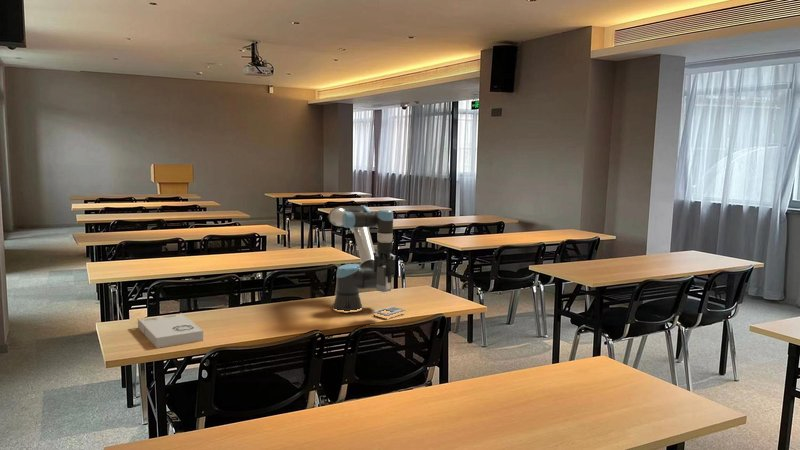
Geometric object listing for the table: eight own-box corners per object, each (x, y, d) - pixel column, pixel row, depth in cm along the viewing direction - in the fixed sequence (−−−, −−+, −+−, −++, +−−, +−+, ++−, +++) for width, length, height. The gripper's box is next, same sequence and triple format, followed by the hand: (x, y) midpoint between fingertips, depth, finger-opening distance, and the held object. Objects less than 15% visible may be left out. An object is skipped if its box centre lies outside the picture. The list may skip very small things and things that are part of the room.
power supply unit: (181, 322, 272) (180, 312, 272) (203, 342, 246) (203, 330, 245) (137, 329, 261) (137, 318, 260) (156, 350, 235) (156, 338, 234)
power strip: (373, 315, 291) (373, 310, 290) (391, 310, 301) (392, 305, 301) (386, 319, 285) (387, 314, 284) (405, 314, 295) (405, 308, 295)
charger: (376, 290, 287) (377, 266, 286) (383, 288, 291) (384, 265, 289) (383, 292, 284) (384, 267, 282) (390, 290, 287) (391, 266, 286)
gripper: (366, 240, 288) (365, 286, 291) (392, 244, 276) (391, 292, 278) (377, 238, 293) (376, 283, 296) (403, 243, 281) (402, 290, 284)
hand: (383, 287), depth 287 cm, fingers closed on charger, 5 cm apart
